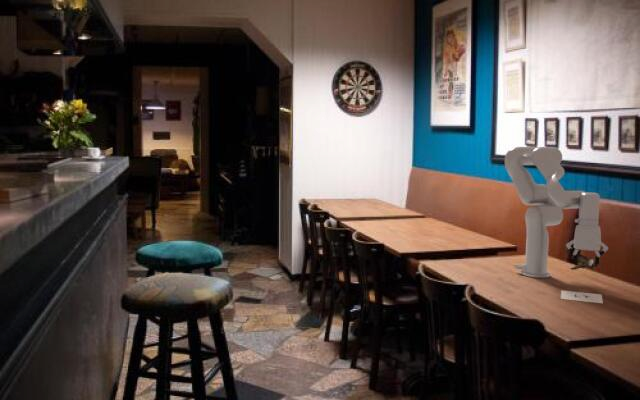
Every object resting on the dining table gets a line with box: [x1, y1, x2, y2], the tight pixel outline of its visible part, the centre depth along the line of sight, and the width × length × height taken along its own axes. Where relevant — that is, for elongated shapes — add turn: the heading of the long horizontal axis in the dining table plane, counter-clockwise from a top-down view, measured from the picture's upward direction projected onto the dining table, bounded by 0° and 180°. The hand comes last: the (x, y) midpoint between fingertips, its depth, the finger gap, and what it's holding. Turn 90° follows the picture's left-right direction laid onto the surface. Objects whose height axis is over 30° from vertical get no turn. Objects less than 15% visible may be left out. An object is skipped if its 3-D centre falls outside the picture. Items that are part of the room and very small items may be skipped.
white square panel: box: [560, 289, 604, 304], centre depth 249 cm, size 15×14×1 cm
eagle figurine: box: [570, 252, 595, 271], centre depth 262 cm, size 8×7×9 cm
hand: (585, 264), depth 261 cm, fingers closed on eagle figurine, 7 cm apart
